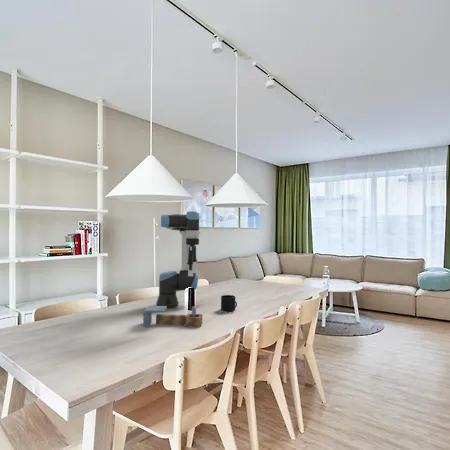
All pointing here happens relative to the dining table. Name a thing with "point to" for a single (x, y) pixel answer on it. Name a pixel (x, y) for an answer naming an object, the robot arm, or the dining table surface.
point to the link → (179, 320)
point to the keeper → (148, 314)
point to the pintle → (193, 311)
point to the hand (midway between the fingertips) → (192, 274)
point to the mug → (228, 303)
